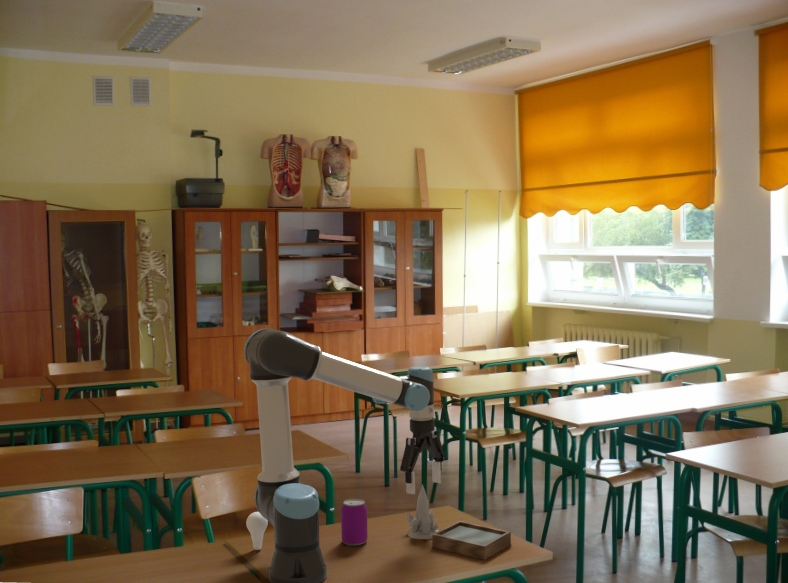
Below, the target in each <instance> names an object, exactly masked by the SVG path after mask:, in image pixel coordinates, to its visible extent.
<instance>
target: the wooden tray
mask: <svg viewBox="0 0 788 583" xmlns="http://www.w3.org/2000/svg"><path fill="white" fill-rule="evenodd" d="M431 540H432V545H431V546H432V548H436V549H439V550H444V551H447V552H452V553H456V554H460V555H464V556H469V557H471V558H472V557H473V558H477V559H480V560H484V561H486V560H487V559H489V558H490V557H492V556H494V555H495V553H496V554H497V553H500V552H501V551H503V550H504V549H506V548H508V547H510V546H511V545H512V533H511V531H507V530H503V529H499V528H494V527H490V526H485V525H481V524H477V523H476V524H475V523H471V522H467V521H463V520H458V521H457V522H454V523H451V524H450V525H448V526H446V527H444V528H442V529H440V530H439V531H438V532H436V533H434V534H432V539H431ZM500 550H501V551H500Z"/></svg>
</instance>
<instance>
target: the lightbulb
mask: <svg viewBox="0 0 788 583" xmlns="http://www.w3.org/2000/svg"><path fill="white" fill-rule="evenodd" d="M245 523H246V524H245V525H246V528H247V530H248V532H249V533H250V536H251V541H252V547H253V549H255V551H259V550H260V549H262V548H263V542H264V534H265V531H266V530H267V528H268V525H269V524H268V523H269V521H268V520H266V519H265V518H264V517H263V516H262V515H261V514H260V513H259V511H254V512H252V513H250V514H249V515H248V517H247V518H246V522H245Z"/></svg>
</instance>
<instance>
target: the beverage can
mask: <svg viewBox="0 0 788 583" xmlns="http://www.w3.org/2000/svg"><path fill="white" fill-rule="evenodd" d="M342 503H343V504H342V507H341V510H340V517H341V518H340V521H341V522H340V523H341V524H340V525H341V526H340V528H341V541H342V542H343V544H345V545H347V546H351V547H355V546H357V545H358V546H362V545H364V544H365V543H366V542H368V537H369V536H368V531H369V530H368V508H367V505H366V502H365V500H363V499H361V498H360V499H359V498H349V499H345V500H344V501H343V502H342ZM361 544H362V545H361Z"/></svg>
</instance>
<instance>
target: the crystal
mask: <svg viewBox="0 0 788 583" xmlns="http://www.w3.org/2000/svg"><path fill="white" fill-rule="evenodd" d="M418 493H419V494H418V496H417V501H416V508H415V513H414V516H415V517H413V516H412V514H411V513H410V512H409V511H407V519H406V520H407V522H408V523H409V525H410V527H411V528H410V529H409V530H408V531H407V536H408V535H409V536H410V537H412V538H411V539H414V538H415V539H414V540H422V539H427V540H432V534H434V533H436V532H438V531H440V530H439V529H438V528H439V525H438V523H435V512H434V511H433V509H432V508H431V509H430V501H429V498H428V495H427V493H426V490H425V487H424V485H423V483H422V484H421V488H420V489H419V492H418ZM409 536H408V537H409ZM410 537H409V538H410Z"/></svg>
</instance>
